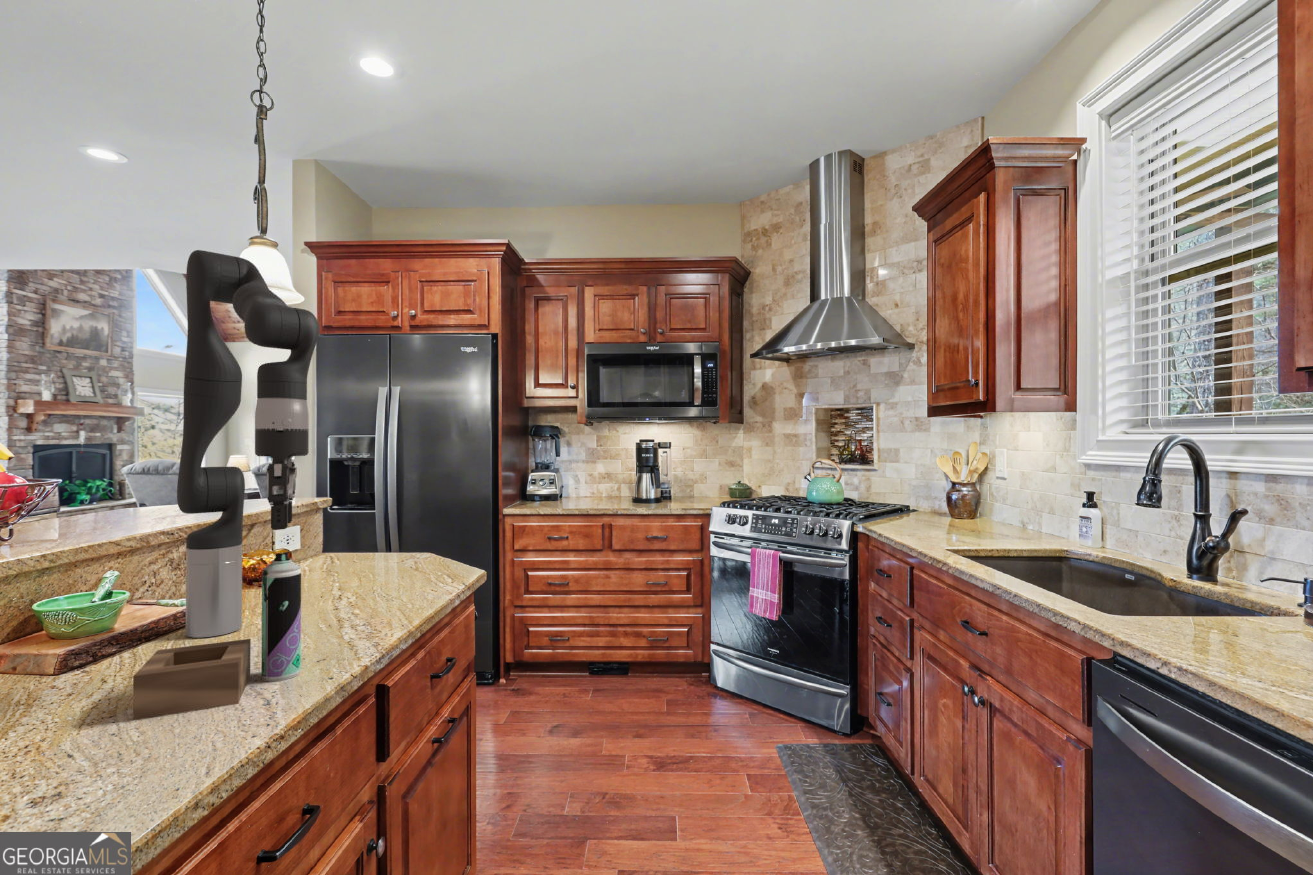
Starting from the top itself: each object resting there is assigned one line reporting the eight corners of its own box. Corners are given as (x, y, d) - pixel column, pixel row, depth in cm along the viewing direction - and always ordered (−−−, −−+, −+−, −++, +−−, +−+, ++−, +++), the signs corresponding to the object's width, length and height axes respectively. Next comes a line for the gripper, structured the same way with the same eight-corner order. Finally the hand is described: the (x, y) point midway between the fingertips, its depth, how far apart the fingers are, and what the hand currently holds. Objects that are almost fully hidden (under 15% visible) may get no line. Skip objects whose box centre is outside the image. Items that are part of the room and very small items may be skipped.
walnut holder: (157, 689, 94) (157, 649, 94) (250, 675, 100) (250, 638, 100) (132, 720, 84) (133, 675, 84) (238, 703, 89) (238, 661, 89)
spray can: (282, 682, 97) (282, 555, 97) (252, 680, 98) (253, 554, 98) (308, 670, 102) (309, 550, 102) (280, 668, 103) (281, 549, 103)
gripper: (260, 428, 105) (260, 523, 105) (248, 425, 93) (248, 533, 92) (310, 428, 109) (310, 520, 108) (305, 426, 96) (305, 529, 96)
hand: (281, 526), depth 100 cm, fingers open, 8 cm apart
